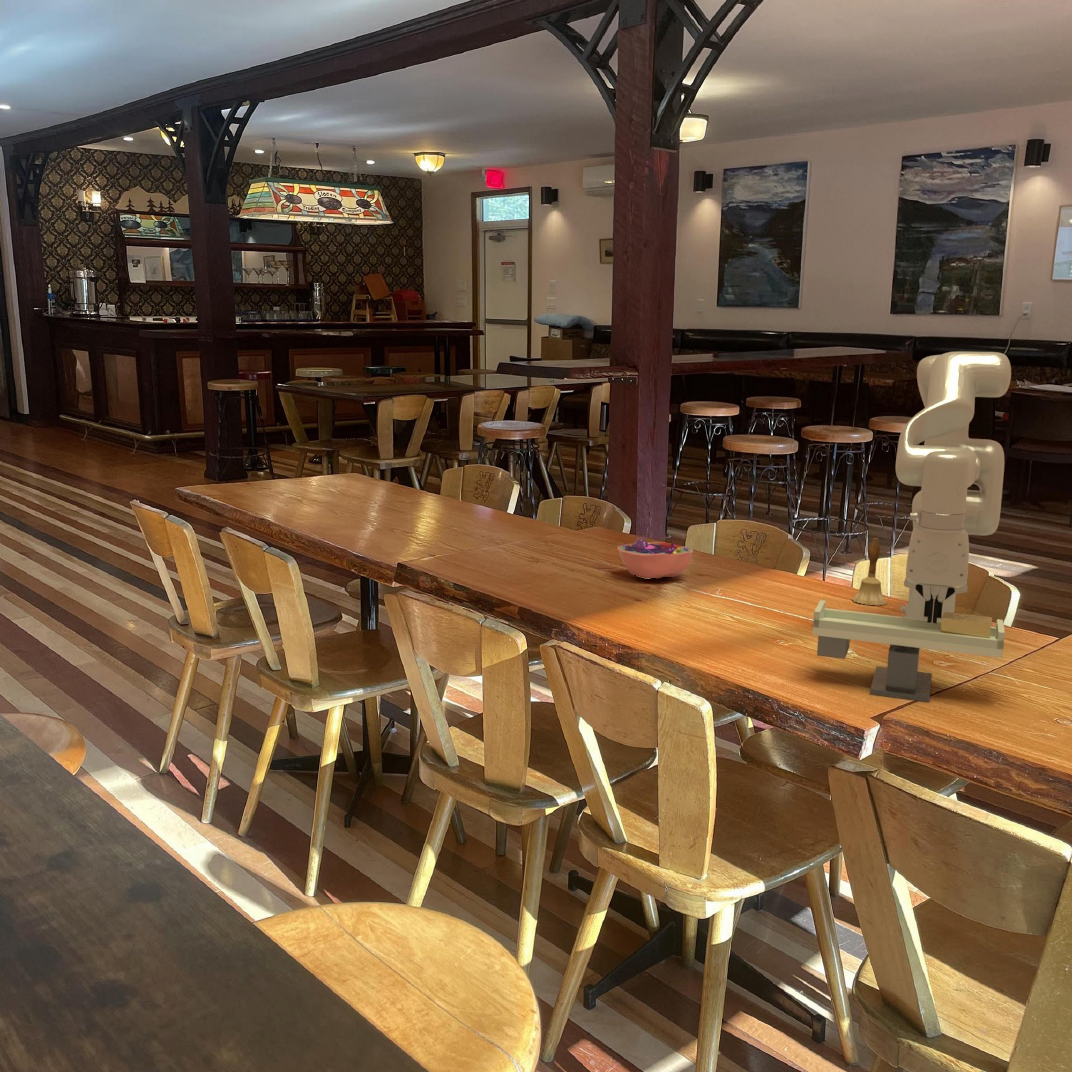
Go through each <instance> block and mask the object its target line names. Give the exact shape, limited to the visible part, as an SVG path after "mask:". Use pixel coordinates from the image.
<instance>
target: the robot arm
mask: <svg viewBox="0 0 1072 1072" xmlns="http://www.w3.org/2000/svg"><path fill="white" fill-rule="evenodd" d="M916 379H917V386H918V390H919V394H920V397H921V400H922V402H923V406H924V408H923V409H922V410H920V411H919V412H917V413H916V414H915V415H914V416H912V418H910V420H908V422H907V423H906V424H905V425H904V427H903V428H902V430H901V432H900V434H899V438H898V443H897V451H896V458H895V459H896V460H895V474H896V477H897V479H898V481H899V482H900V483H902V484H903V485H906V486H909V487H910V486H911V487H921V490H919V491H918V492H917V493H916V494H915V495H914V496H913V499H912V505H911V512H910V515H909V516H910V517H909V520H910V521H912V532H911V536H910V540H909V545H908V552H907V558H906V568H905V578H904V581H903V586H904V587H905V588H909V590H908V591H909V592H908V602H907V603H906V604H904V605H901V606H900V607H899V611H900V612H902V613H904V617H908V618H917V619H926V620H927V623H930V622H932V620H933V623H936V624H937V621H942V616H943V613H944V612H953V613H955V605H956V594H957V595H958V594H964V593H965V594H966V593H968V589H969V588H968V583H967V580H968V574H969V573H968V572H969V559H970V544H969V543H970V541H969V535H970V536H972V535H973V536H989V535H993V534H994V533H995V532H996V531H997V529H998V528H999V524H1000V520H1001V519H1000V517H1001V508H1002V499H1003V484H1004V476H1005V475H1004V473H1005V452H1004V448H1003V446H1002V445H1001V444H1000V443H999V442H998V441H996V440H992V439H985V438H983V439H982V438H981V439H980V438H970V437H969V428H970V426H969V425H970V423H971V422H972V420H973V418H974V415H975V404H976V403H975V402H976V400H975V399H976V398H1000V397H1002V396H1004V395H1005V394H1007V392H1008V389H1009V387H1010V384H1011V379H1012V368H1011V362H1010V360H1009V358H1008V356H1007V355H1006V354H1004V353H1001V352H996V351H949V352H945V353H942V354H935V355H929V356H926V357H924V358H922V359H921V360H920V361H919V362H918V364H917V368H916ZM922 442H924V445H920V443H922ZM972 485H976V486H978V488H979V490H974V489H973V490H972V489H968V488H970V487H971V486H972Z"/></svg>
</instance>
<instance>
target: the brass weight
mask: <svg viewBox="0 0 1072 1072" xmlns="http://www.w3.org/2000/svg"><path fill="white" fill-rule="evenodd" d="M992 623H993V617H990V616H986V615H984V616H983V615H978V614H977V615H976V614H967V613H960V612H954V613H953V612H944V613H943V616H942V622H941V633H949V634H958V635H967V636H975V637H984V638H990V634H991V627H992Z"/></svg>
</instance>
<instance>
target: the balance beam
mask: <svg viewBox="0 0 1072 1072" xmlns="http://www.w3.org/2000/svg"><path fill="white" fill-rule="evenodd" d="M826 601H827V600H822V599H820V600H819V602H818V603H817V605H816V608H815V609H814V610H813V623H812V625H813V626H812V636H818V637H817V647H816V648H817V650H816V651H817V652H816V656H818V657H826V658H833V659H834V658H835V659H842V660H846V657H847V655H848V651H849V649H850V643H851V641H859V642H860V641H861V642H869V643H876V644H885V645H890V644H891V645H900V646H908V647H916V648H920V649H925V650H932V651H933V650H934V651H940V652H941V651H942V652H950V653H951V652H952V653H958V654H967V655H974V656H975V655H976V656H984V657H991V658H999V659H1000V658H1002V659H1003V654H1004V645H1005V635H1006V632H1005V625H1004V620H1003V619H999V618H998V619H996V621H995V622H996V623H995V624H996V625H995V626H991V634H990V638H984V637H975V636H967V635H958V634H949V633H941V622H942V621H937V624H936V623H933V620H932V622H930V623H927V620H926V619H917V618H908V617H905V616H898V615H897V616H896V615H890V614H882V613H881V614H880V613H871V612H863V611H852V610H844V609H835V608H827V607H826Z"/></svg>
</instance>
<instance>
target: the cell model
mask: <svg viewBox="0 0 1072 1072" xmlns="http://www.w3.org/2000/svg"><path fill="white" fill-rule="evenodd" d="M616 549H617V550H618V552H619V555H620V558H621V561H622V563H623V564H624V566H625V567H626V569H627V571H628V573H629V574H630V573H631V574H630V575H632V574H633V575H632V576H634V575H637V576H640V577H644V578H656V579H663V578H662V577H673V578H675V577H674V576H676V577H677V576H679V575H680V574H682V573H684V571H686V570H687V568H688V567H689V565H690V562H691V559H692V554H693V552H694V549H693V548H690V547H687V546H684V545H683V546H682V545H678V544H675V543H672V542H671V543H669V542H661V541H660V542H659V541H658V542H657V541H649V542H647V541H646V537H645V536H640V537H638V538H637V539H635V540H634V542H633V543H627V544H622V545H618V546H617V548H616Z"/></svg>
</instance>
